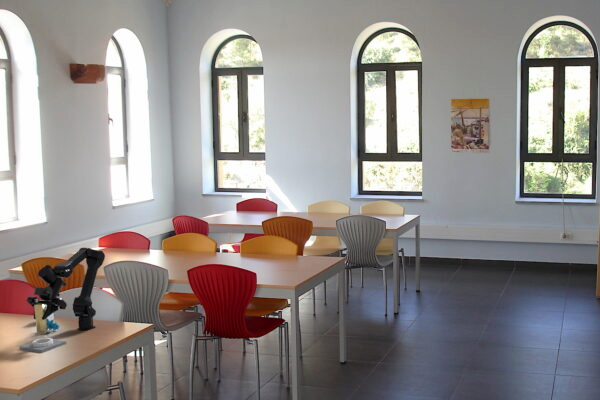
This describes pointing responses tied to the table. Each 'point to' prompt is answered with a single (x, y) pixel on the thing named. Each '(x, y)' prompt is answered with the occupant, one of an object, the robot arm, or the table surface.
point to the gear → (51, 325)
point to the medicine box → (50, 315)
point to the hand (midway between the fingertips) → (38, 319)
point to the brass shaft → (40, 318)
